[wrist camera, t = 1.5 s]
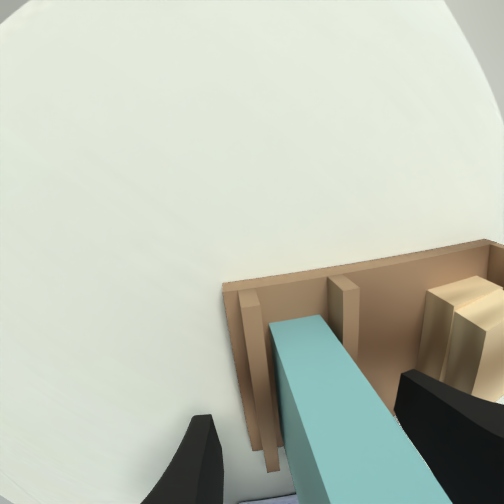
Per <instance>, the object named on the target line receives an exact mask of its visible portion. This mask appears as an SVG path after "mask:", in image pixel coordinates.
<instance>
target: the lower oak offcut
mask: <svg viewBox="0 0 504 504" xmlns="http://www.w3.org/2000/svg"><path fill="white" fill-rule="evenodd" d="M499 288H500V289H502V290H503V287H501V286H499V285H496V284H494V283H492V282H490V281H488V280H485V279H483V278H481V277H479V276H474V277H470V278H467V279H464V280H460V281H457V282H453V283H450V284H447V285H443V286H439V287H436V288H432V289H428V290H427V293H426V304H425V313H424V321H423V329H422V336H421V342H420V348H419V354H418V360H417V365H416V370H417V371H420V372H422V373H424V374H426V375H428V376H430V377H432V378H434V379H436V380H438V381H440V382H443V383H444V381H445V376H446V370H447V365H448V359H449V353H450V347H451V339H452V332H453V323H454V313H455V311H456V310H458V309H460V308H463V307H465V306H467V305H469V304H471V303H473V302H475V301H477V300H479V299H481V298H483V297H484V296H486V295H488V294H490V293H492V292H494V291H496V290H498V289H499Z"/></svg>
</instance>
